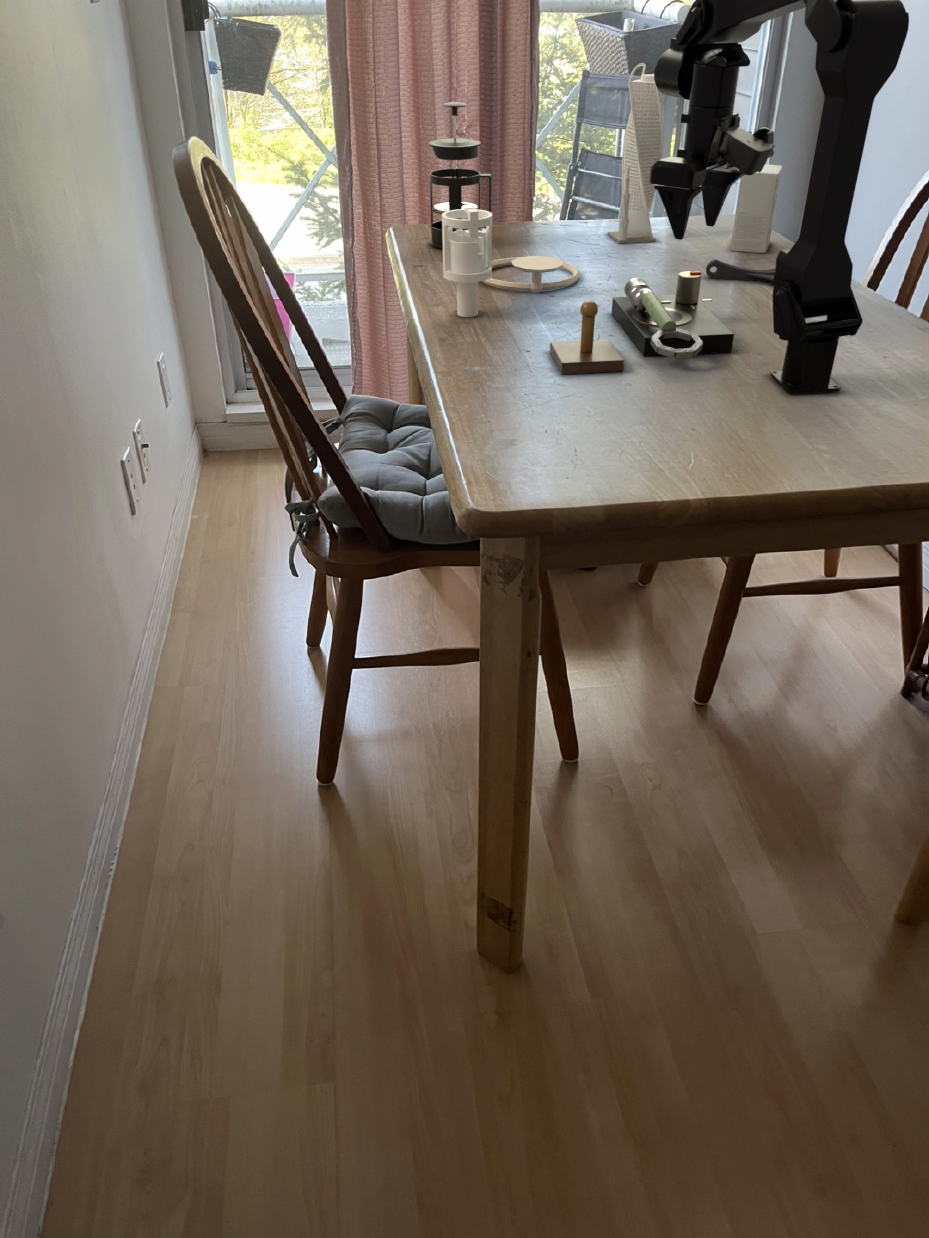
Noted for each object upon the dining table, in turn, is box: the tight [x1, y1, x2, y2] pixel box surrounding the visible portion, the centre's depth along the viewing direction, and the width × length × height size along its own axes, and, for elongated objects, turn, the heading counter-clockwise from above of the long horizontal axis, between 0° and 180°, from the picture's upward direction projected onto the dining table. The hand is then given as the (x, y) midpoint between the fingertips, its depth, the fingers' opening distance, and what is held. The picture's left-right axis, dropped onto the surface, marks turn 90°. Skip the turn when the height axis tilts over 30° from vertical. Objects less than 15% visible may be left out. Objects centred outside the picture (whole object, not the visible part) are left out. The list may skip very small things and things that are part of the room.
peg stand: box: [549, 299, 625, 375], centre depth 121 cm, size 8×8×8 cm
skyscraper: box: [607, 62, 666, 244], centre depth 169 cm, size 8×8×28 cm
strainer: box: [441, 207, 493, 318], centre depth 136 cm, size 7×7×15 cm
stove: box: [611, 294, 735, 357], centre depth 132 cm, size 18×14×3 cm
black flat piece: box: [705, 259, 776, 282], centre depth 153 cm, size 14×15×3 cm
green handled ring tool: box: [623, 277, 703, 360], centre depth 127 cm, size 21×6×4 cm, turn 11°
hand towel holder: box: [481, 255, 581, 294], centre depth 153 cm, size 17×4×21 cm
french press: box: [428, 101, 492, 251], centre depth 167 cm, size 12×9×23 cm
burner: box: [633, 308, 692, 326], centre depth 130 cm, size 8×8×1 cm
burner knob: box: [675, 270, 703, 305], centre depth 135 cm, size 3×3×4 cm
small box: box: [730, 163, 783, 254], centre depth 167 cm, size 8×6×13 cm
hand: (694, 232), depth 131 cm, fingers open, 9 cm apart
